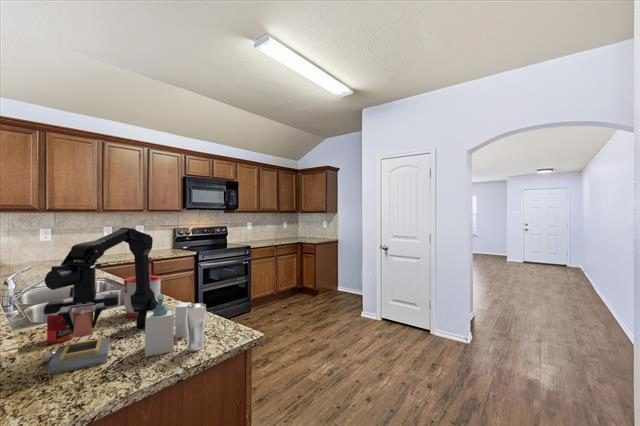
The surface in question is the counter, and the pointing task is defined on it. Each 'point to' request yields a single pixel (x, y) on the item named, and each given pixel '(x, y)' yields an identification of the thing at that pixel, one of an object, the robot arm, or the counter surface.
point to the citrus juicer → (131, 288)
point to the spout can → (83, 323)
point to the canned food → (58, 329)
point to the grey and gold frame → (78, 355)
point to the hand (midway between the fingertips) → (83, 329)
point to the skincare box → (181, 320)
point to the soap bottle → (159, 329)
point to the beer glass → (195, 326)
